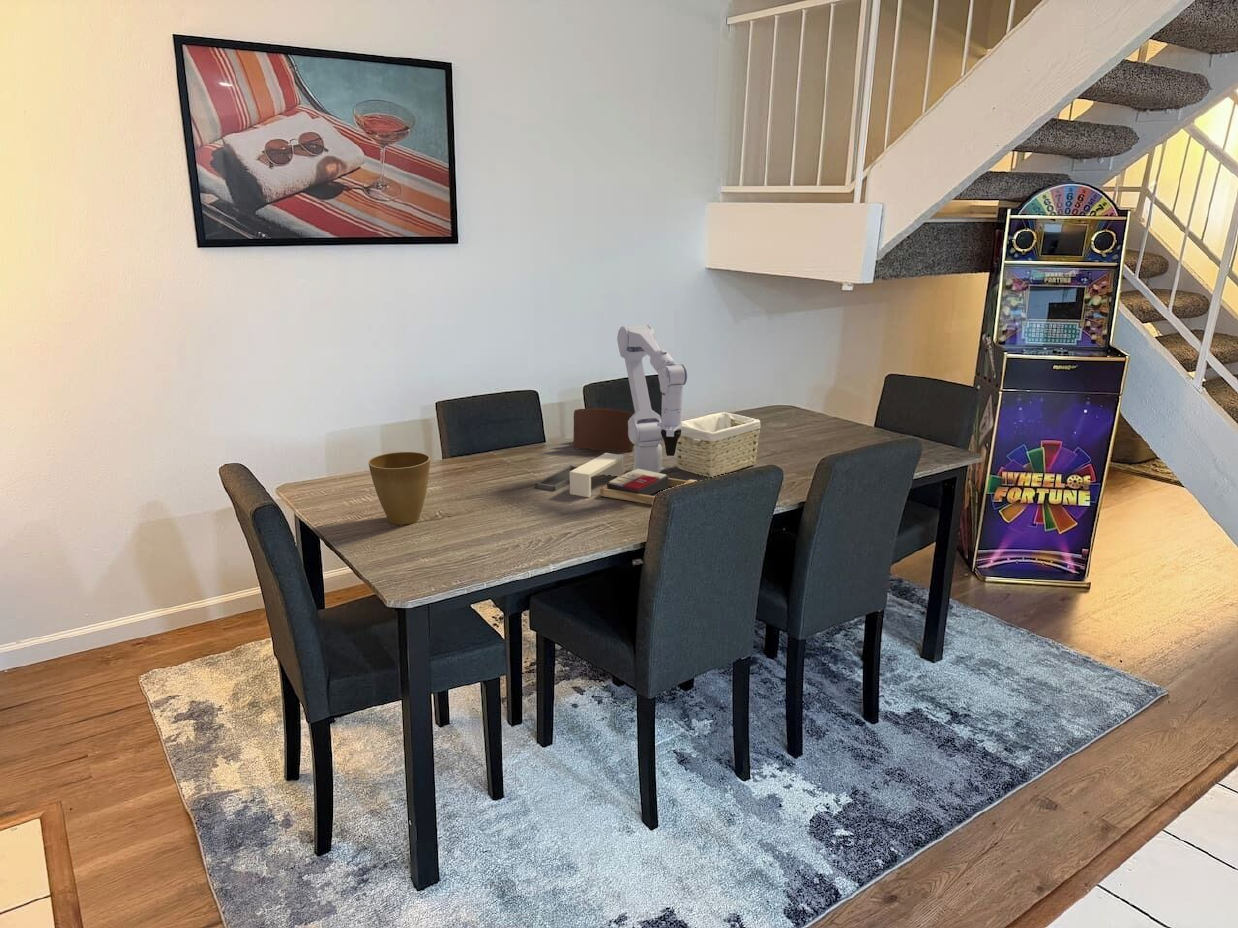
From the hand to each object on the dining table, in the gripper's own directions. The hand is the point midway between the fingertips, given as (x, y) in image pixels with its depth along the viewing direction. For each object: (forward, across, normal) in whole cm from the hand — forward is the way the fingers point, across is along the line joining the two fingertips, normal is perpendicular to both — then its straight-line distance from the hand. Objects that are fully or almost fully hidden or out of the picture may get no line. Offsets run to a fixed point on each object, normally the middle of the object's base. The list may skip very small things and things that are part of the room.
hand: (670, 455), depth 248 cm
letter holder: (+10, -42, -23) cm, 49 cm away
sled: (+9, +6, -5) cm, 12 cm away
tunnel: (+9, -1, -26) cm, 28 cm away
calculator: (+9, +5, -9) cm, 14 cm away
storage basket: (+10, -22, +13) cm, 28 cm away
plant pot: (+10, +37, -66) cm, 76 cm away
